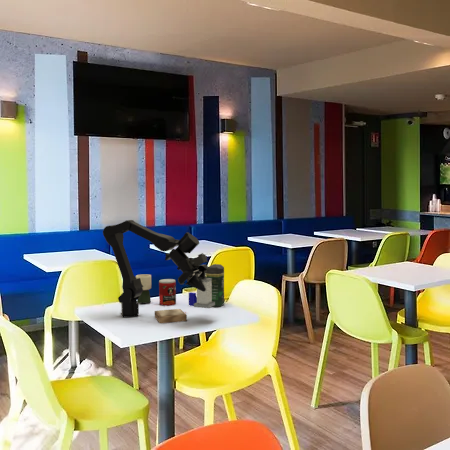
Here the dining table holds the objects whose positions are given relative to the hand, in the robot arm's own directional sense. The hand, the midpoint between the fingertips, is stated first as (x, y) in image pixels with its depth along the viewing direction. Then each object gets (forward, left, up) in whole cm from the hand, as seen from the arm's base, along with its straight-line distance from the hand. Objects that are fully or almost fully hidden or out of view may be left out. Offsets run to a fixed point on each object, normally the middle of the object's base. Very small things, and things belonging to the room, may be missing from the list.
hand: (207, 289), depth 216 cm
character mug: (-18, +44, -13) cm, 49 cm away
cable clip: (+5, +34, -13) cm, 37 cm away
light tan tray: (-13, +10, -13) cm, 21 cm away
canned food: (-8, +38, -13) cm, 41 cm away
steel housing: (-1, +1, -7) cm, 7 cm away
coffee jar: (+12, +28, -13) cm, 33 cm away
